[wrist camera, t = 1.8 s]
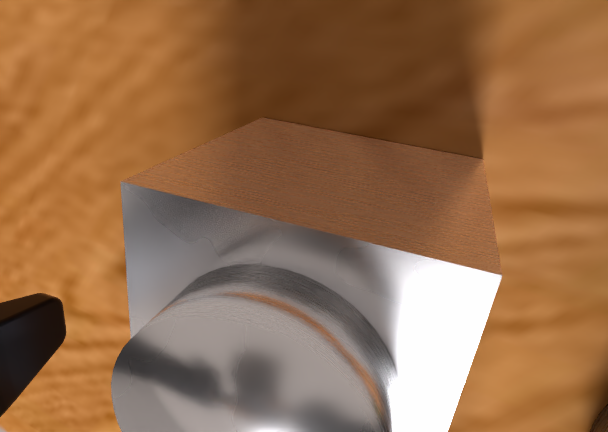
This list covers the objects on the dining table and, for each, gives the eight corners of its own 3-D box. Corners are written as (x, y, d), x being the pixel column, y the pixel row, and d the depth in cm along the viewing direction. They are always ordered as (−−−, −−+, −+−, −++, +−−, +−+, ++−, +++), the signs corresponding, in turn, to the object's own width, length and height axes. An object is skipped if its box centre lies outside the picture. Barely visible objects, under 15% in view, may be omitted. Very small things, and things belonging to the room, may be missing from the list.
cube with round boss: (428, 345, 14) (398, 637, 7) (249, 293, 15) (87, 496, 9) (483, 159, 11) (513, 346, 5) (262, 117, 13) (46, 215, 6)
